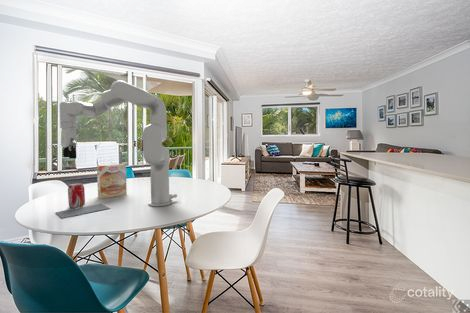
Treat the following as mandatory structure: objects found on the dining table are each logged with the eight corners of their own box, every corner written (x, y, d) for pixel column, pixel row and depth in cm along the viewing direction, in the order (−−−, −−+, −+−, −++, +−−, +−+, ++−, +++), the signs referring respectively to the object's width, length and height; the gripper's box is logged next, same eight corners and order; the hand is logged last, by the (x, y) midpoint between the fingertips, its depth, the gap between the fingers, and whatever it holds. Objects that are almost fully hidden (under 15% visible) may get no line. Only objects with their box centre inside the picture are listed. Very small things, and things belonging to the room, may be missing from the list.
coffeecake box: (100, 198, 138) (99, 165, 136) (97, 196, 143) (96, 165, 141) (127, 194, 148) (126, 164, 146) (123, 192, 153) (122, 163, 152)
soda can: (65, 207, 119) (64, 184, 118) (79, 204, 125) (78, 182, 125) (74, 209, 116) (73, 185, 115) (88, 205, 123) (87, 183, 122)
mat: (101, 204, 125) (101, 203, 125) (110, 208, 117) (109, 207, 117) (55, 213, 110) (55, 212, 110) (61, 218, 102) (61, 217, 102)
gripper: (55, 125, 127) (56, 157, 128) (65, 124, 116) (66, 159, 117) (71, 126, 133) (72, 156, 134) (82, 125, 122) (83, 158, 123)
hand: (69, 157), depth 126 cm, fingers open, 9 cm apart
